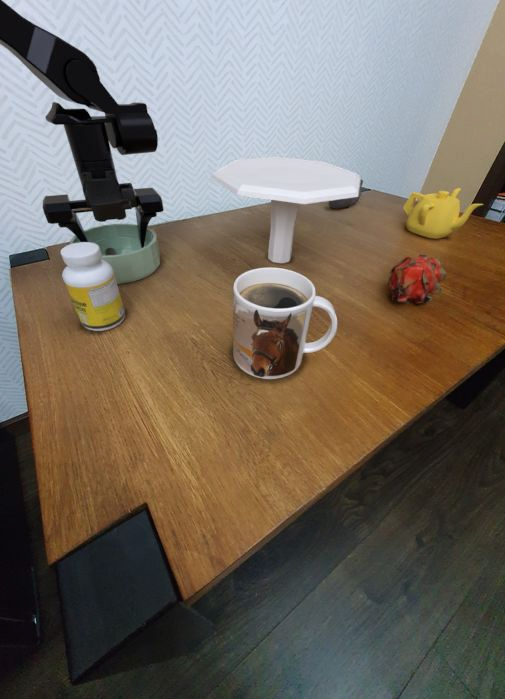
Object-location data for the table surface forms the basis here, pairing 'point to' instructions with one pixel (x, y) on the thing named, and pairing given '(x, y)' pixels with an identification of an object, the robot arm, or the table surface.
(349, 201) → the perforated stone tool
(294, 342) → the mug
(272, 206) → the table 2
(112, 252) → the stick
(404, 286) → the dragon fruit
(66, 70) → the robot arm
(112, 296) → the pill bottle
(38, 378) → the table surface
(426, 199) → the teapot
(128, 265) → the bowl
